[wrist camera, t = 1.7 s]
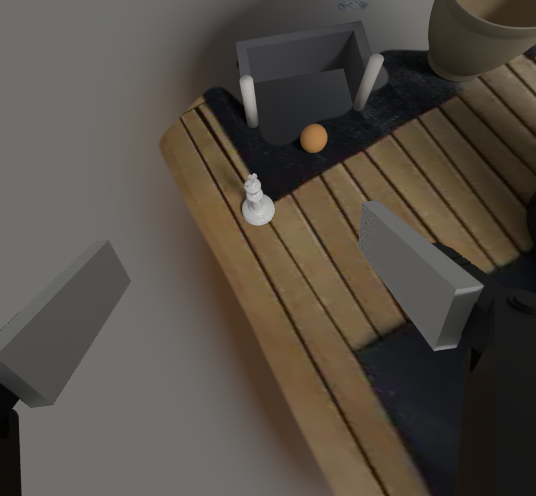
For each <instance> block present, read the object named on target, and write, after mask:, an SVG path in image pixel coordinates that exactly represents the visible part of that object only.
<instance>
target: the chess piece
mask: <svg viewBox="0 0 536 496" xmlns="http://www.w3.org/2000/svg"><path fill="white" fill-rule="evenodd" d="M247 178H248V180H246V182H245V184H244V188H245V190H246V192H247V193H246V196H247V199H246V200H245V201H244V203H243V206H242V213H243V216H244V218H245V220H246V221H247V222H249V223H250V224H253V225H263V224H266V223H267V222H269V221H270V220H271V219H272V217H273V215H274V212H275V207H274V204H273V202H272V200H271V199H270V198H269V197H268V196H266V195H264V194H263V192H262V190H261V189H260V187H261V184H260V181H259V180H258V179H256V178H257V175H256V174H254V173H253V175H252V176H251V175H249V176H248V177H247Z"/></svg>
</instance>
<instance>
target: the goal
mask: <svg viewBox="0 0 536 496" xmlns="http://www.w3.org/2000/svg"><path fill="white" fill-rule="evenodd" d="M236 48H237V55H238V63H239V70H240V77H241V78H240V87H241V92H242V97H243V103H244V108H245V113H246V118H247V124H248V126H249V127H250V128H256V127H257V126H258V116H257V108H256V101H255V93H254V86H253V83H257V82H263V81H269V80H275V79H280V78H287V77H292V76H299V75H305V74H311V73H317V72H323V71H329V70H335V69H340V68H344V71H345V75H346V79H347V83H348V87H349V91H350V94H351V98H352V102H353V109H354V110H356V111H361V110H363V108H364V106H365V104H366V101H367V99H368V97H369V94H370V92H371V89H372V87H373V85H374V82H375V80H376V77H377V75H378V73H379V70H380V68H381V66H382V63H383V61H384V58H383V56H382V55H380V54H373V55H372V54H371V51H370V48H369V44H368V41H367V38H366V35H365V31H364V28H363V24H362V21H357V22H352V23H345V24H340V25H334V26H328V27H322V28H316V29H311V30H304V31H299V32H293V33H286V34H280V35H274V36H269V37H263V38H257V39H251V40H246V41H239V42H236Z"/></svg>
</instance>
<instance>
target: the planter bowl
mask: <svg viewBox="0 0 536 496" xmlns="http://www.w3.org/2000/svg"><path fill="white" fill-rule="evenodd" d="M428 40H429V50H428V55H427V58H428V63H429V65H430V67H431V69H432V70H433V71H434V72H435V73H436V74H437V75H439V76H440V77H442V78H444V79H447V80H450V81H455V82H464V81H469V80H472V79H475V78H476V77H478V76H480V75H481V74H482V73H484V72H487V71H490V70H493V69H495V68H497V67H499V66H501V65H503V64H505V63H507V62H509V61H511V60H513V59H514V58H516V57H517V56H519V55H521V54H522V53H524V52H525V51H526V50H528V49H529V48H531V47H532V46H533V45H535V44H536V0H435V1H434V4H433V7H432V11H431V16H430V21H429V32H428Z"/></svg>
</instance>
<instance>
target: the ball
mask: <svg viewBox="0 0 536 496" xmlns="http://www.w3.org/2000/svg"><path fill="white" fill-rule="evenodd" d="M300 142H301V145H302V147H303V149H304V150H305V151H307V152H310V153H316V152H319V151H320V150H322V149H323V148H324V146H325V145H326V142H327V133H326V130H325V129H324V128H323V127H322V126H321V125H318V124H311V125H309V126H307V127H306V128H305V129H304V130H303V131H302V134H301V137H300Z"/></svg>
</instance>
